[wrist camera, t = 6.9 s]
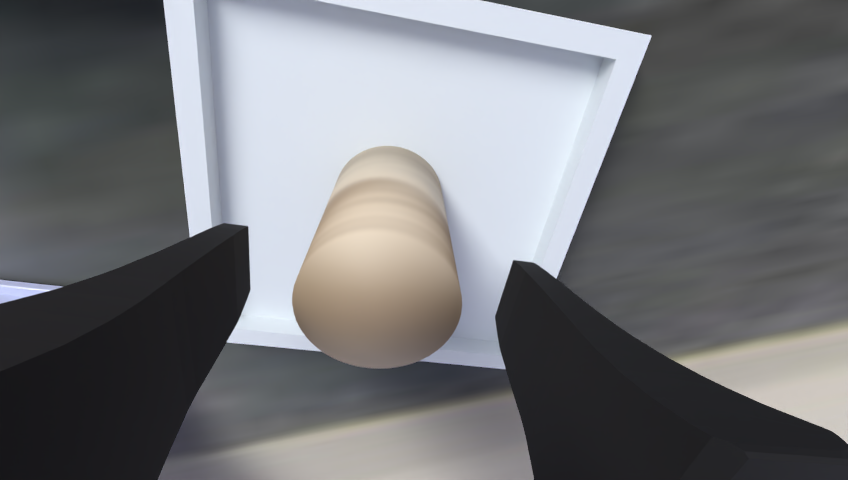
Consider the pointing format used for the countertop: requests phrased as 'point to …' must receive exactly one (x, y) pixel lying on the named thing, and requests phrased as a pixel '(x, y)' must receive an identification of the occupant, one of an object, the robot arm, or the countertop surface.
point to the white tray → (394, 132)
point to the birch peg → (380, 265)
